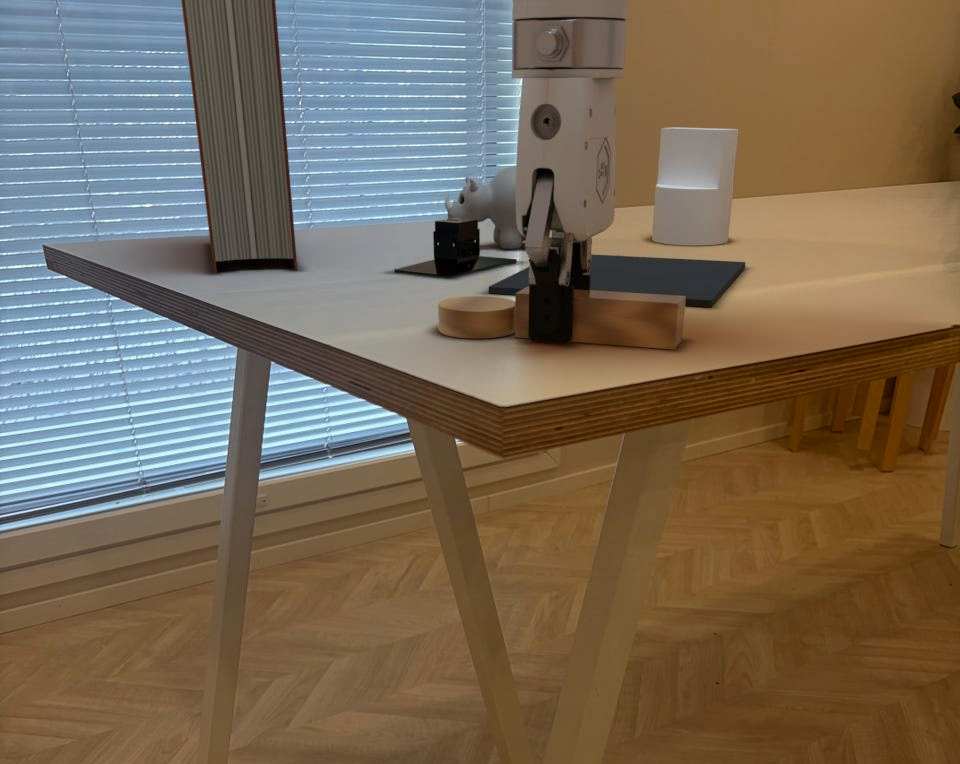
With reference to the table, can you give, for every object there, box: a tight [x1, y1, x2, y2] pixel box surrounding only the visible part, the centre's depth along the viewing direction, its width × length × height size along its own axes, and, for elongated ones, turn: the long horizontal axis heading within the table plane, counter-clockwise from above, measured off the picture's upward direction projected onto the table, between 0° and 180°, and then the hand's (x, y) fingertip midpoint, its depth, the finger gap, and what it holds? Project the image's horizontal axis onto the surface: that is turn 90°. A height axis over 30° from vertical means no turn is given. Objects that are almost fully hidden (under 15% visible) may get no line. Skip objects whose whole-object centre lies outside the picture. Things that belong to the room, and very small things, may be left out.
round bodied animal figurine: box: [444, 165, 526, 250], centre depth 116 cm, size 7×12×8 cm, turn 100°
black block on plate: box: [394, 218, 518, 280], centre depth 105 cm, size 12×7×5 cm, turn 146°
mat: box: [488, 253, 746, 308], centre depth 99 cm, size 20×22×1 cm
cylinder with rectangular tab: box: [651, 126, 739, 246], centre depth 120 cm, size 9×9×12 cm
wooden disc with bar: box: [437, 286, 686, 351], centre depth 76 cm, size 18×6×3 cm, turn 70°
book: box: [181, 0, 298, 275], centre depth 106 cm, size 23×8×30 cm, turn 14°
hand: (558, 332), depth 77 cm, fingers open, 3 cm apart
